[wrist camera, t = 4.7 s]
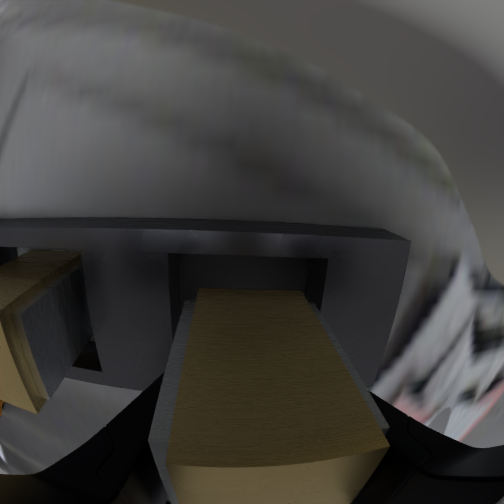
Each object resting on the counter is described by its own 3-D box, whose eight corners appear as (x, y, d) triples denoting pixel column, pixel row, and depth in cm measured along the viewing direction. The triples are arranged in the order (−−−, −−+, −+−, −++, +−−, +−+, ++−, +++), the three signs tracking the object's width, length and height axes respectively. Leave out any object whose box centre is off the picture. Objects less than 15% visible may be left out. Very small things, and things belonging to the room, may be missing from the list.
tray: (356, 360, 16) (372, 386, 14) (17, 338, 14) (-2, 358, 12) (384, 229, 14) (410, 241, 11) (-7, 219, 12) (-34, 228, 9)
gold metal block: (297, 384, 12) (342, 527, 5) (190, 385, 11) (176, 537, 4) (312, 290, 10) (410, 439, 4) (186, 287, 10) (137, 459, 3)
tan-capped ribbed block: (101, 330, 14) (46, 417, 8) (40, 321, 14) (-23, 388, 7) (90, 252, 13) (6, 314, 6) (26, 249, 13) (-59, 297, 6)
